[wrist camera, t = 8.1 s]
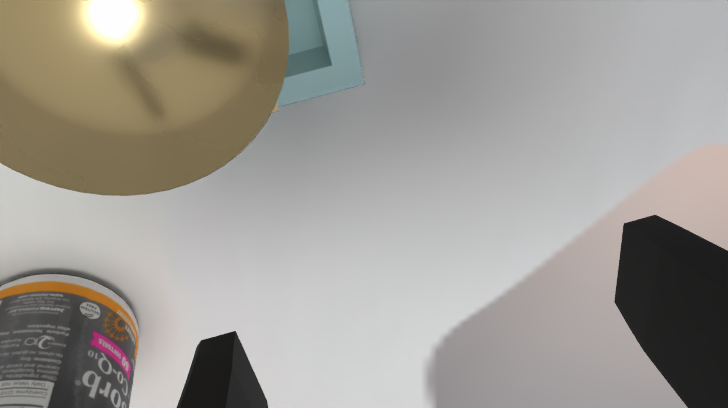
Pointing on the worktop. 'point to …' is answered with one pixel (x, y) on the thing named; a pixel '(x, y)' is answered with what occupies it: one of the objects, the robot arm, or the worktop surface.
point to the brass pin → (135, 88)
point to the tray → (319, 50)
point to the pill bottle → (65, 344)
